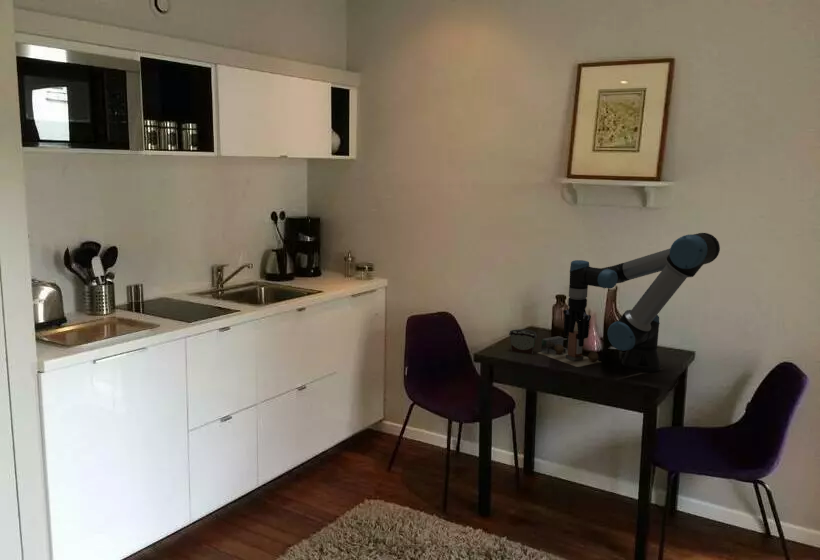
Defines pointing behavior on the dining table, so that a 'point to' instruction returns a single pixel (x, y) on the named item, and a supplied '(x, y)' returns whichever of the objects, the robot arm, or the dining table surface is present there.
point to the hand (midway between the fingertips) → (574, 351)
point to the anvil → (551, 345)
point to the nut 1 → (559, 348)
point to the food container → (522, 341)
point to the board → (575, 363)
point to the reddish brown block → (573, 347)
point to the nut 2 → (593, 356)
